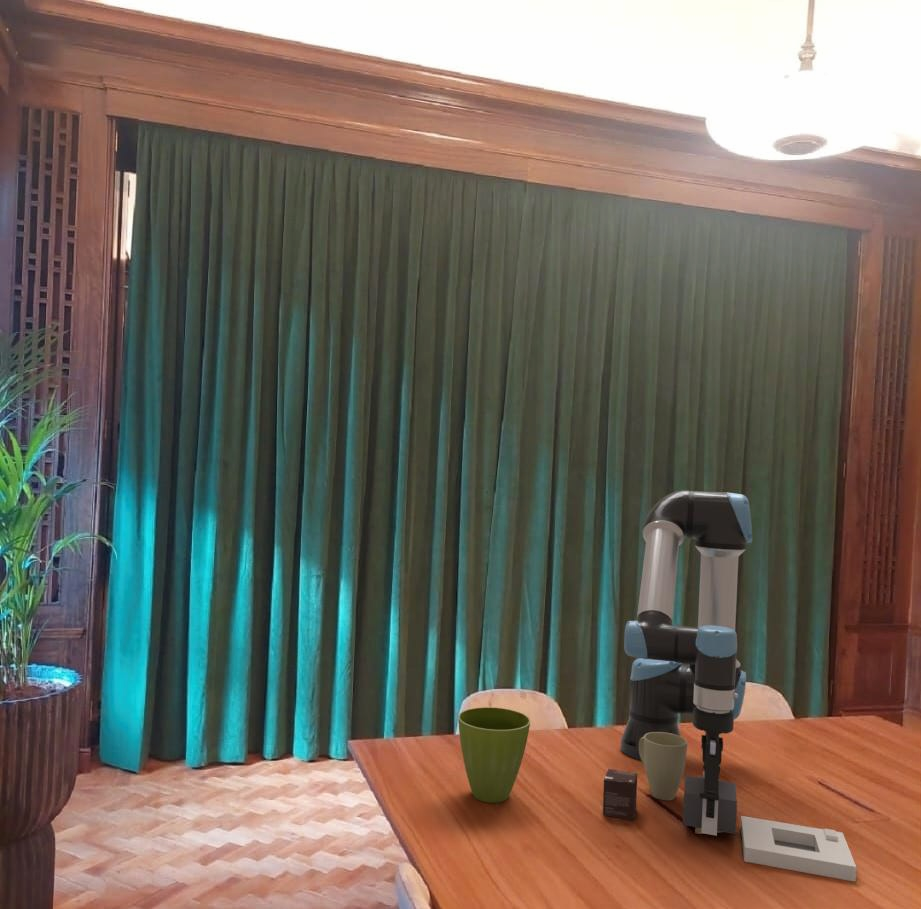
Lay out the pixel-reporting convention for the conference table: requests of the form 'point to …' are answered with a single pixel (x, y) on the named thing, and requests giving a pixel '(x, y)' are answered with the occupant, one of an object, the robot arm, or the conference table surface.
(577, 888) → the conference table surface
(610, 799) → the box
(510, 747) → the flower pot
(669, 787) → the mug
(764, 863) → the socket
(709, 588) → the robot arm
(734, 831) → the plug
